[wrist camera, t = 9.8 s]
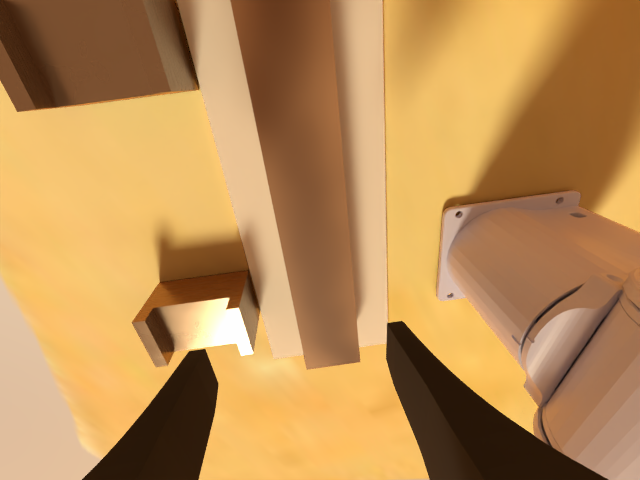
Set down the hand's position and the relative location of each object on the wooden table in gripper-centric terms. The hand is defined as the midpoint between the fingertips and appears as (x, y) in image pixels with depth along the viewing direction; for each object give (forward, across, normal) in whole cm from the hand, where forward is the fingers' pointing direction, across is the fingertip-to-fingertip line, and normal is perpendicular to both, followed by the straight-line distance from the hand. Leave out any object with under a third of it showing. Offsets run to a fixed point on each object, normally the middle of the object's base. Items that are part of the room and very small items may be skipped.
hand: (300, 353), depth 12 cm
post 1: (+11, +7, -12) cm, 17 cm away
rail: (+10, -1, -4) cm, 11 cm away
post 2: (+11, +7, +4) cm, 13 cm away
